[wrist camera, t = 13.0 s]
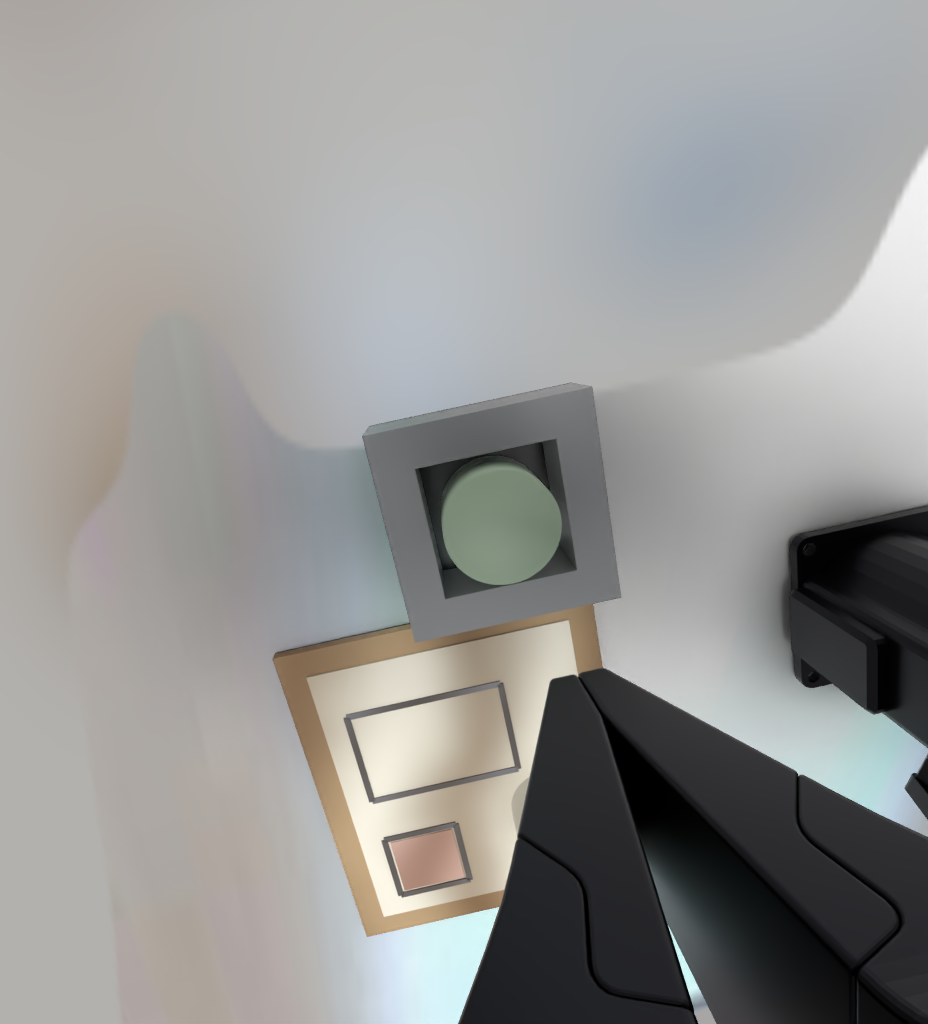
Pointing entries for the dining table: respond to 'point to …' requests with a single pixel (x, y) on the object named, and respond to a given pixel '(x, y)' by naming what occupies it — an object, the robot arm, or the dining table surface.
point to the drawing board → (428, 754)
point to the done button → (499, 521)
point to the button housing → (480, 430)
